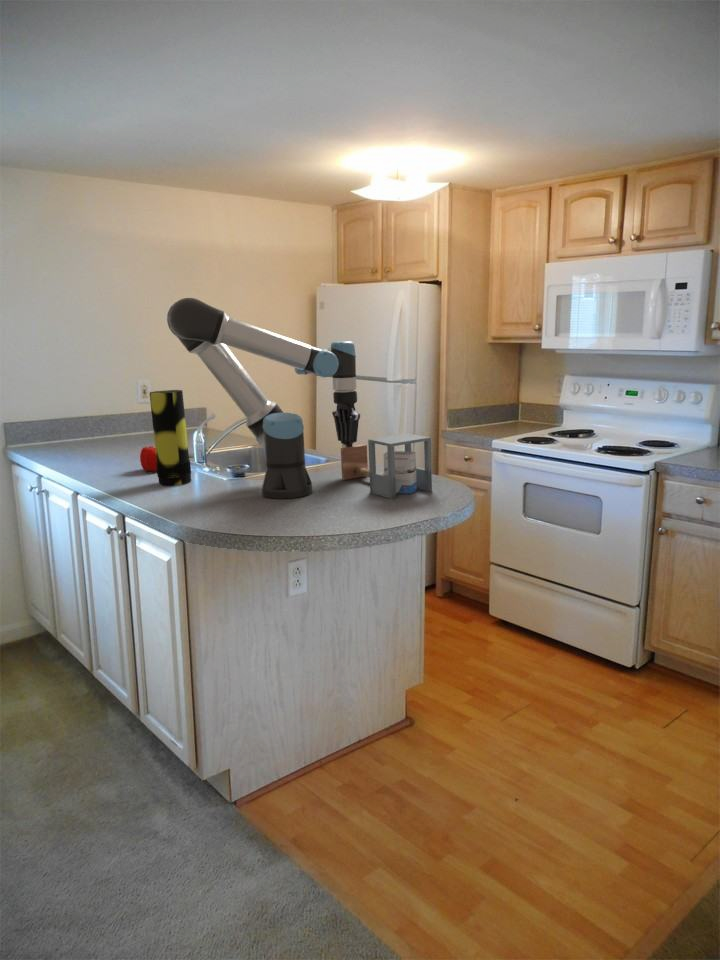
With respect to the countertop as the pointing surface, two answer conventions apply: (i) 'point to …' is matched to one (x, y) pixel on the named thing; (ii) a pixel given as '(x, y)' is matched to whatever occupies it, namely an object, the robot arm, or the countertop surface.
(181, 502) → the countertop surface
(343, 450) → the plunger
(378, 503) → the countertop surface
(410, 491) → the ink box
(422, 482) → the grey open frame holder
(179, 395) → the container
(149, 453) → the tomato
